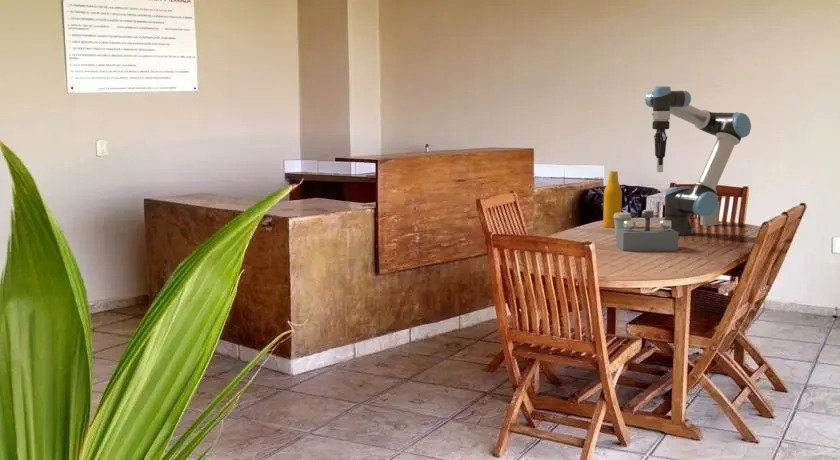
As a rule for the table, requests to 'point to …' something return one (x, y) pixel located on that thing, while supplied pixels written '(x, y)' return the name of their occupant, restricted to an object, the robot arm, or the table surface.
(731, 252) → the table surface
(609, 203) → the beer bottle
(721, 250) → the table surface
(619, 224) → the coffee cup
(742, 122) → the robot arm
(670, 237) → the console
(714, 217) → the cup
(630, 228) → the knob
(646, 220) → the pot knob
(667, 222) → the knob
